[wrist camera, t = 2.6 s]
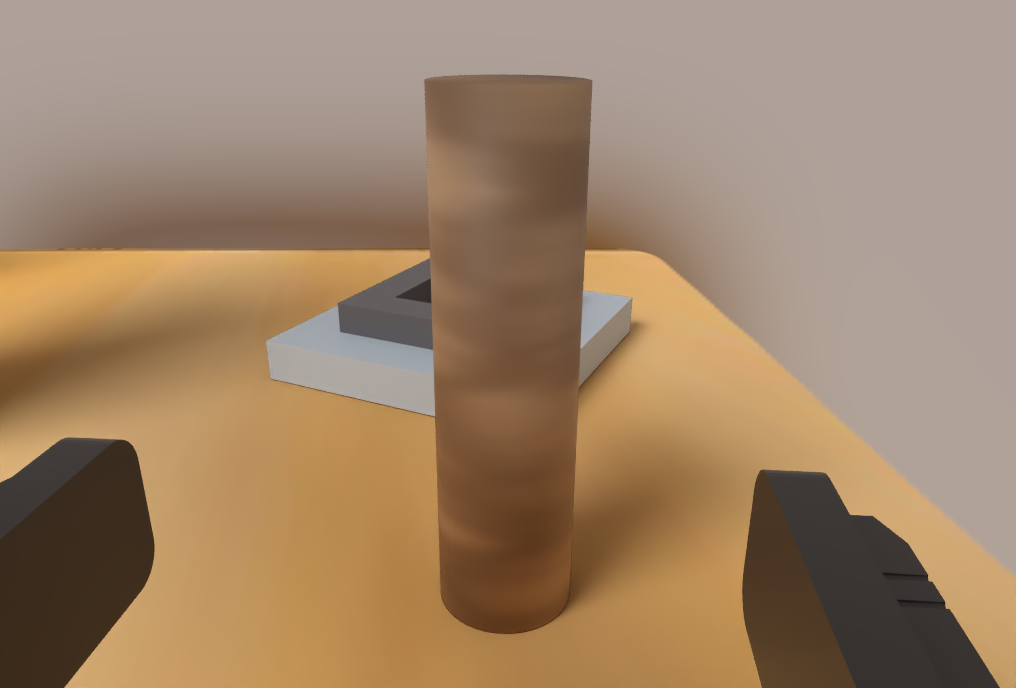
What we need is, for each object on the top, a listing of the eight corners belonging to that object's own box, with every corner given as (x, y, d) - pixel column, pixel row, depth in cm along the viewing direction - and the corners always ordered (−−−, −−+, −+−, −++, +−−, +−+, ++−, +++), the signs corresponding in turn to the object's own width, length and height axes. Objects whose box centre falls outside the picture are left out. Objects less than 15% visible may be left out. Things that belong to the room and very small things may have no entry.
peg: (416, 608, 24) (391, 81, 18) (477, 535, 27) (472, 72, 21) (539, 650, 22) (554, 88, 16) (588, 568, 25) (614, 78, 20)
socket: (270, 378, 39) (262, 311, 37) (418, 296, 50) (416, 242, 49) (532, 439, 33) (533, 363, 32) (629, 330, 45) (634, 271, 44)
